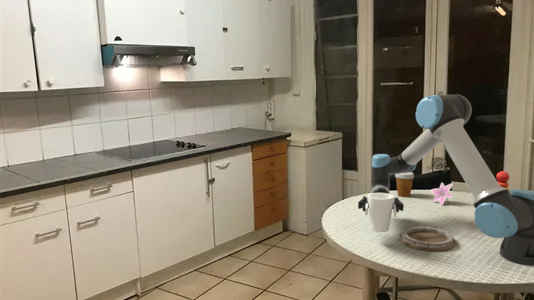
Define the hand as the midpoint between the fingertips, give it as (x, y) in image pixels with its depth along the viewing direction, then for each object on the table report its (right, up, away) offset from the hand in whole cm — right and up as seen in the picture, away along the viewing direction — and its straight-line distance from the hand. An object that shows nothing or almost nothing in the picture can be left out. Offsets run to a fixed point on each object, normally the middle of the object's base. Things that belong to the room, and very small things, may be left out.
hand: (380, 212), depth 159 cm
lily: (+44, -3, +55) cm, 71 cm away
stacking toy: (+64, -6, +38) cm, 75 cm away
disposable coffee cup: (+30, -1, +69) cm, 75 cm away
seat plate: (+19, -12, +6) cm, 24 cm away
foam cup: (+1, -7, +6) cm, 9 cm away
